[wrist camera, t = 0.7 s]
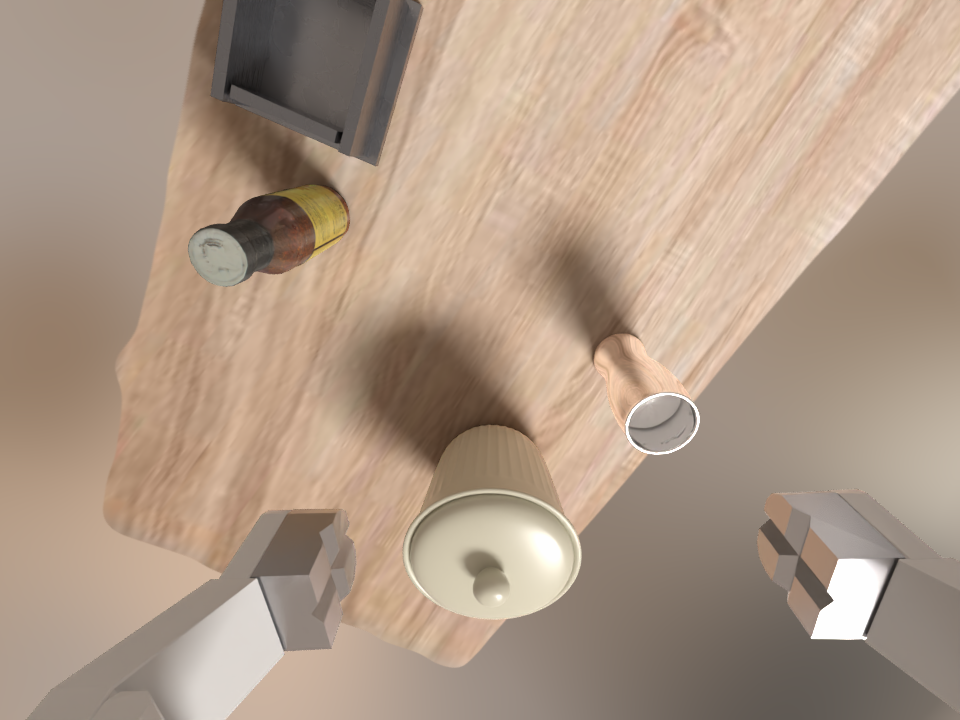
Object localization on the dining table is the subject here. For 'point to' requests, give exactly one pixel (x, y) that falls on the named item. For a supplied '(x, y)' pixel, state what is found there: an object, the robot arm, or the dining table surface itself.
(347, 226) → the sauce bottle
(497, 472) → the canister
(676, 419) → the beer glass
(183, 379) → the dining table surface
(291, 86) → the square socket
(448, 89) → the dining table surface
